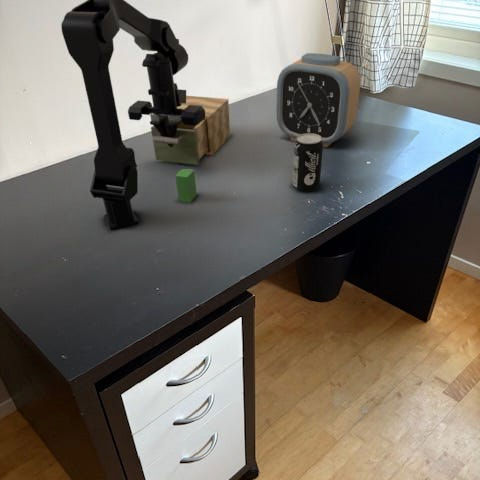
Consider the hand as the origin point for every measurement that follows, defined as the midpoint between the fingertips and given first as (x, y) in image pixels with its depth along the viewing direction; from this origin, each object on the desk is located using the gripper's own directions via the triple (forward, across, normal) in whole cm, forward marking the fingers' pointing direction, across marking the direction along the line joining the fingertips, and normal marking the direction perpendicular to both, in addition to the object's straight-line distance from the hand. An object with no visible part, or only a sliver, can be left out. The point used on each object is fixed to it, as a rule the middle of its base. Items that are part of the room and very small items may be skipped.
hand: (171, 146), depth 123 cm
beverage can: (+6, -36, +1) cm, 37 cm away
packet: (+5, -10, +15) cm, 19 cm away
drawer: (+5, 0, -6) cm, 8 cm away
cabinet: (+7, 0, -17) cm, 19 cm away
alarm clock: (+7, -32, -28) cm, 43 cm away
